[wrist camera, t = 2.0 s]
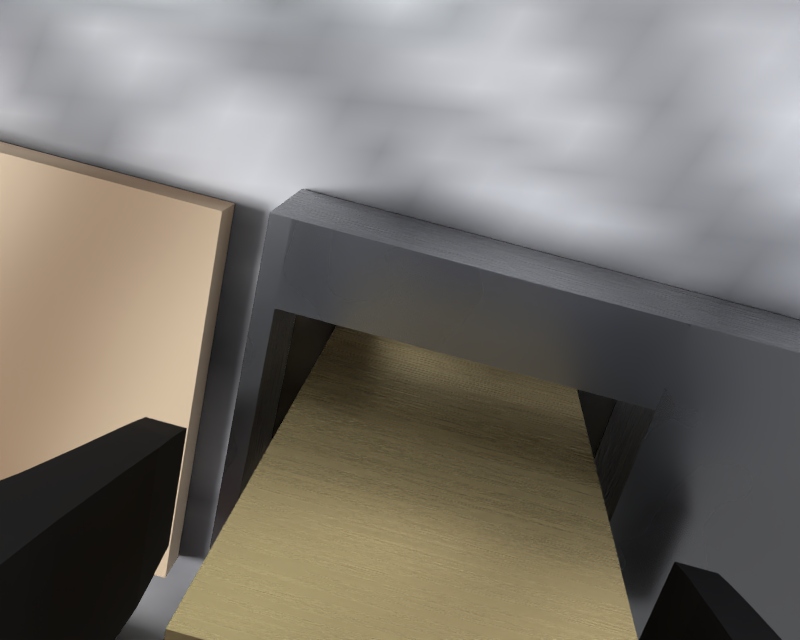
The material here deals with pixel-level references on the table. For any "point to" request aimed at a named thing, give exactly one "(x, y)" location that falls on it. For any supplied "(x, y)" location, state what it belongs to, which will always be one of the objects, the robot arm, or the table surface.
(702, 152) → the table surface
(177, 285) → the coaster
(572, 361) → the grey square frame
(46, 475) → the robot arm
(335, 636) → the brushed brass bar
